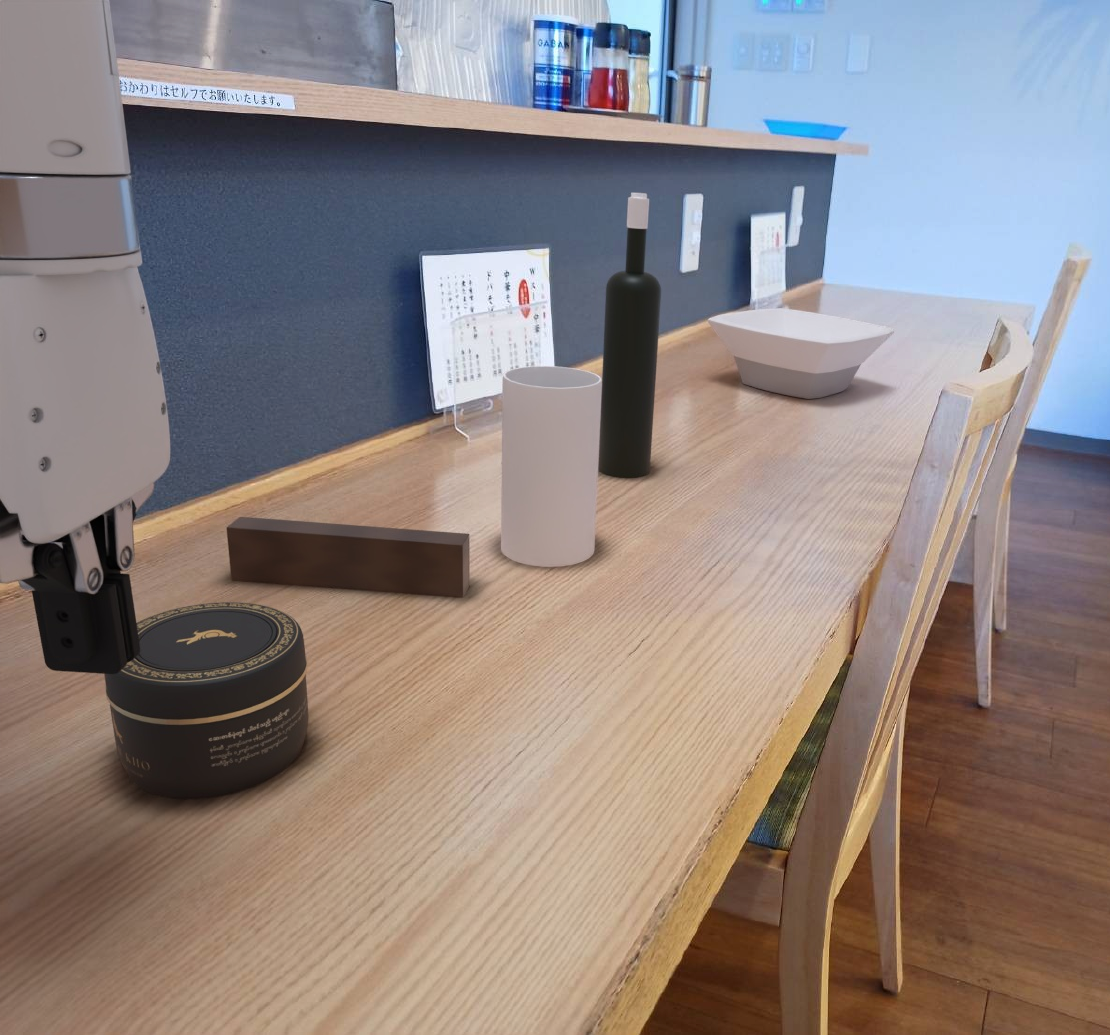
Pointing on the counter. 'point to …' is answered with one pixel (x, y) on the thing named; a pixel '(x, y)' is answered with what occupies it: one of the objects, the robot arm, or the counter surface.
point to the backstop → (349, 557)
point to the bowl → (797, 349)
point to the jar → (211, 700)
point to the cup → (549, 464)
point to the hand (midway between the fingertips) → (94, 662)
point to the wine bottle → (630, 356)
